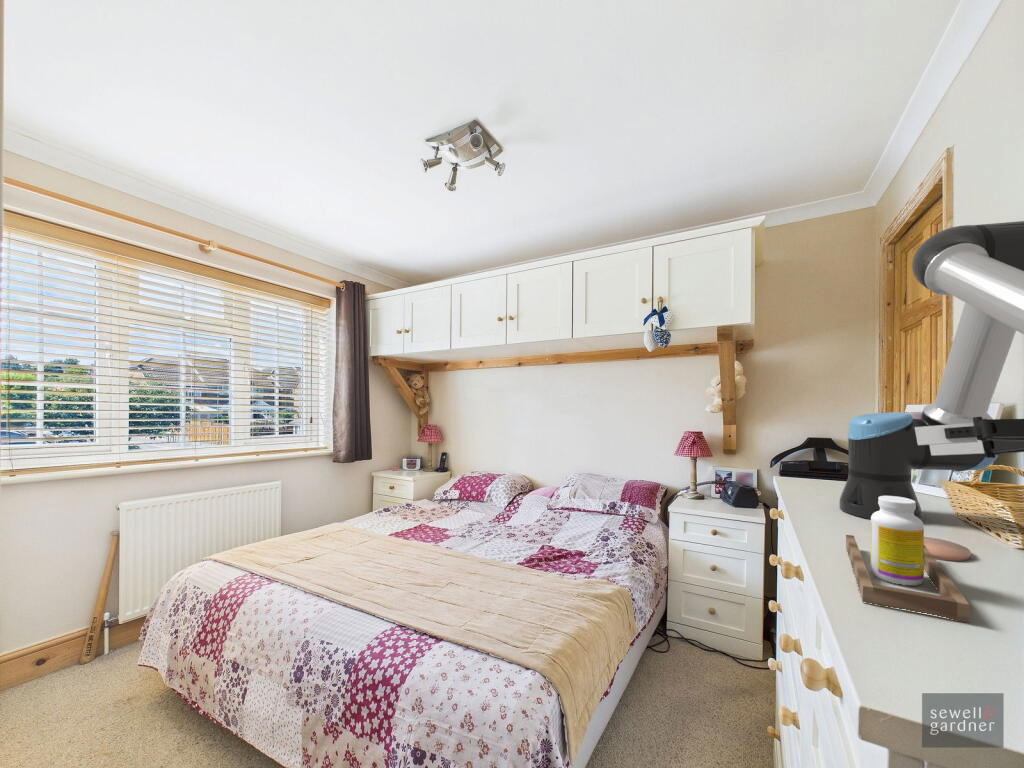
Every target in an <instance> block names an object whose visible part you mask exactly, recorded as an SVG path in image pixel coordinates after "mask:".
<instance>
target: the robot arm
mask: <svg viewBox="0 0 1024 768" xmlns="http://www.w3.org/2000/svg"><path fill="white" fill-rule="evenodd" d="M911 270H912V274H913V276H914V278H915V280H916V281H918V283H919V284H920V285H921V286H923V287H924V288H926V289H927V290H929V291H931V292H933V293H935V294H938V295H941V296H952V297H955V298H956V299H958V300H959V301H962V302H964V305H963V309H962V311H961V314H960V317H959V321H958V325H957V328H956V332H955V334H954V338H953V341H952V344H951V348H950V351H949V353H948V354H949V355H948V357H947V360H946V364H945V367H944V369H943V370H944V371H943V374H942V377H941V380H940V383H939V386H938V389H937V393H936V397H935V400H934V402H932V403H929V404H926V405H925V406H924V407H923V408H922V409H923V410H922V413H921V416H920V417H919V418H913V416H912V414H910V413H908V412H903V411H901V412H899V411H898V412H897V411H892V412H891V411H889V412H874V413H873V412H872V413H865V414H860V415H857V416H854V417H853V418H852V417H851V419H850V421H849V423H848V433H847V438H848V439H847V440H848V441H847V442H848V444H847V445H848V449H847V450H848V475H847V476H848V477H847V480H846V482H845V485H844V487H843V489H842V492H841V495H840V496H839V497H840V498H839V509H840V511H843V512H844V513H847V514H850V515H853V516H856V517H859V518H863V519H869V520H871V516H872V514H873V513H875V512H877V511H880V507H879V504H878V498H879V497H880V496H897V497H903V498H908V499H911V500H914V501H915V502H916V509H915V511H914V516H916V517H918V518H919V519H920V520H921V521H922V507H921V505H920V503H919V500H918V497H917V495H916V492H915V490H914V487H913V485H912V470H929V471H933V470H935V471H936V470H938V471H953V472H966V471H967V472H968V471H979V470H982V469H986V468H988V467H989V466H990V465H992V464H993V463H994V462H995V461H996V460H997V459H998V457H999V456H1000V455H1003V454H1016V453H1024V418H993V417H991V415H990V414H989V413H988V410H989V407H990V404H991V401H992V399H993V395H994V393H995V390H996V388H997V385H998V382H999V380H1000V377H1001V374H1002V372H1003V368H1004V365H1005V364H1006V360H1007V357H1008V355H1009V352H1010V349H1011V346H1012V343H1013V341H1014V338H1015V335H1016V332H1018V333H1020V334H1022V335H1024V220H1021V221H1020V220H1019V221H1009V222H1008V221H1007V222H996V223H994V222H993V223H986V224H981V223H980V224H966V225H965V224H964V225H959V226H954V227H949V228H945V229H943V230H941V231H938V232H935V234H933V235H931V236H930V237H929V238H927V239H926V240H924V242H923V243H921V244H920V246H919V247H918V248H917V250H916V252H915V253H914V256H913V259H912V263H911Z"/></svg>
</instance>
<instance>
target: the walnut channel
mask: <svg viewBox="0 0 1024 768" xmlns="http://www.w3.org/2000/svg"><path fill="white" fill-rule="evenodd" d="M857 543H858V542H857V540H856V538H855V535H851V534H845V549H846V552H848V553H847V555H848V558H849V559H848V560H849V563H850V562H851V563H850V565H852V566H851V569H852V568H853V569H852V573H853V576H854V575H855V576H854V579H855V578H856V579H855V582H856V581H857V582H856V584H858V586H857V588H858V587H859V589H858V592H859V591H860V592H859V594H861V595H860V598H862V599H861V602H862V601H863V602H866V603H872V604H877V605H880V606H879V607H882V606H888V607H893V608H899V609H906V610H910V611H915V612H921V613H927V614H932V615H937V616H941V617H946V618H949V619H953V620H952V621H955V620H957V621H956V622H960V621H961V623H965V622H966V624H970V611H971V610H970V607H971V606H970V603H969V602H968V600H966V598H965V597H964V596H963V594H962V593H961V591H960V590H959V589H958V587H957V586H956V585H955V583H954V582H953V581H952V579H951V578H950V576H949V575H948V574H947V572H946V571H944V569H943V568H942V567H941V565H940V564H939V562H938V561H937V559H935V558H934V557H933V556H932V554H931V553H930V552H929V550H928V549H927V548H926V546H925V545H924V570H925V571H924V573H925V572H926V573H927V574H926V573H925V574H926V576H927V575H928V576H929V577H928V576H927V577H928V579H929V578H930V579H931V580H930V579H929V580H930V582H931V581H932V582H933V583H932V582H931V583H932V585H933V584H934V585H935V586H934V585H933V586H934V588H935V587H936V588H937V589H936V588H935V589H936V591H937V590H938V591H937V592H939V593H940V594H939V593H938V594H939V595H938V594H932V593H926V592H921V591H915V590H910V589H904V588H900V587H899V588H898V587H894V586H893V587H892V586H887V585H882V584H875V583H872V581H871V579H870V575H869V572H868V570H867V567H866V565H865V562H864V560H863V556H862V554H861V551H860V549H859V546H858V544H857ZM940 595H941V596H940ZM863 602H862V603H863ZM866 603H865V604H866ZM949 619H948V620H949Z"/></svg>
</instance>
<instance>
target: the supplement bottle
mask: <svg viewBox="0 0 1024 768" xmlns="http://www.w3.org/2000/svg"><path fill="white" fill-rule="evenodd" d="M878 504H879V507H880V511H877V512H875V513H873V514H872V516H871V519H870V571H871V574H872V575H874V576H875V577H876V578H878V579H879V578H880V580H881V581H884V580H885V582H887V581H889V582H888V583H890V582H893V583H892V584H894V583H897V584H896V585H898V584H904V585H903V586H906V585H916V586H920V585H922V584H923V583H924V580H925V579H924V578H925V577H924V576H925V575H924V573H925V571H924V537H925V533H924V532H925V527H924V522H923V520H922V519H921V520H920V519H919V518H918V517H916V516H914V511H915V509H916V502H915V501H914V500H911V499H908V498H903V497H897V496H880V497H879V498H878Z"/></svg>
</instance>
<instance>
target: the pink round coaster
mask: <svg viewBox="0 0 1024 768" xmlns="http://www.w3.org/2000/svg"><path fill="white" fill-rule="evenodd" d="M924 545H925V546H926V548H927V549H928V550H929V552H930V553H931V554H932V556H933V557H934V558H935V560H938V559H939V560H940V561H948V562H965V561H969V560H970V559H971V550H970V549H969V548H968V547H966V546H964V545H961V544H959V543H957V542H952V541H949V540H945V539H940V538H935V537H930V536H924Z"/></svg>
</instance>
